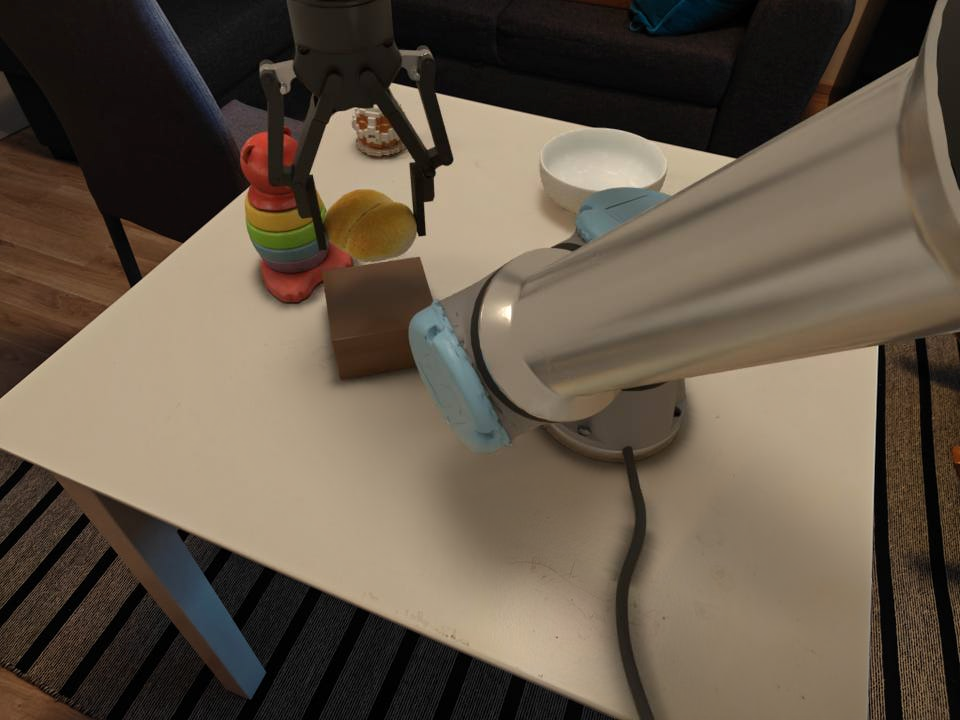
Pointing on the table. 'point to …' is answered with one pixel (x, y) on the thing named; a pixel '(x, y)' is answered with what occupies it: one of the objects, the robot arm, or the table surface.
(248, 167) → the stacking bear
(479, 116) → the table surface
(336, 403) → the table surface
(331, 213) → the bread roll
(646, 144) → the cereal bowl
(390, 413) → the table surface
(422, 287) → the walnut block
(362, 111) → the decorative ornament
